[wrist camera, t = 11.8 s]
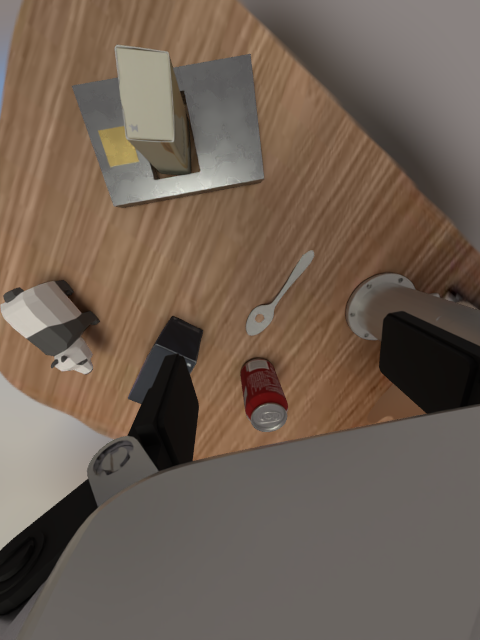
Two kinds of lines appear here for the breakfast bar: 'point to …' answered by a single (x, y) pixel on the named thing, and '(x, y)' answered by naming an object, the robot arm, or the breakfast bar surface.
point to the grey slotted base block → (207, 126)
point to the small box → (169, 342)
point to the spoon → (268, 310)
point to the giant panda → (51, 323)
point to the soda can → (263, 396)
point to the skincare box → (153, 108)
